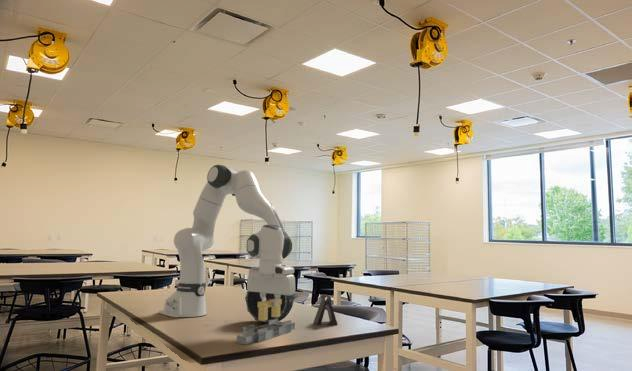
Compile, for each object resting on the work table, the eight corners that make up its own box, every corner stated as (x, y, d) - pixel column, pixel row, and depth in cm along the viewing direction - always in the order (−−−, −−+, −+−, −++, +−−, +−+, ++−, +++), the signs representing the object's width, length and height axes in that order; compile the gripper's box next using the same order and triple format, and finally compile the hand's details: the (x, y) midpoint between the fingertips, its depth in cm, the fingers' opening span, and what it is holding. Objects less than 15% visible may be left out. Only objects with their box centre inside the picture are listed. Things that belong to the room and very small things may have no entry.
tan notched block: (263, 321, 151) (264, 302, 152) (257, 320, 153) (257, 301, 154) (281, 316, 161) (281, 298, 162) (274, 315, 162) (275, 298, 163)
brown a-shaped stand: (316, 325, 175) (317, 296, 176) (313, 322, 181) (314, 294, 182) (337, 325, 177) (338, 295, 178) (333, 322, 183) (334, 293, 184)
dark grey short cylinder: (288, 327, 171) (290, 276, 173) (241, 323, 175) (243, 274, 177) (295, 322, 181) (296, 274, 183) (250, 319, 185) (252, 272, 188)
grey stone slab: (249, 345, 141) (249, 332, 142) (233, 342, 145) (233, 329, 145) (297, 329, 167) (298, 318, 168) (283, 327, 171) (283, 316, 171)
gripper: (244, 267, 162) (242, 304, 160) (288, 269, 151) (287, 309, 150) (254, 266, 167) (253, 302, 165) (298, 268, 157) (297, 307, 155)
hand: (269, 305), depth 157 cm, fingers closed on tan notched block, 3 cm apart
